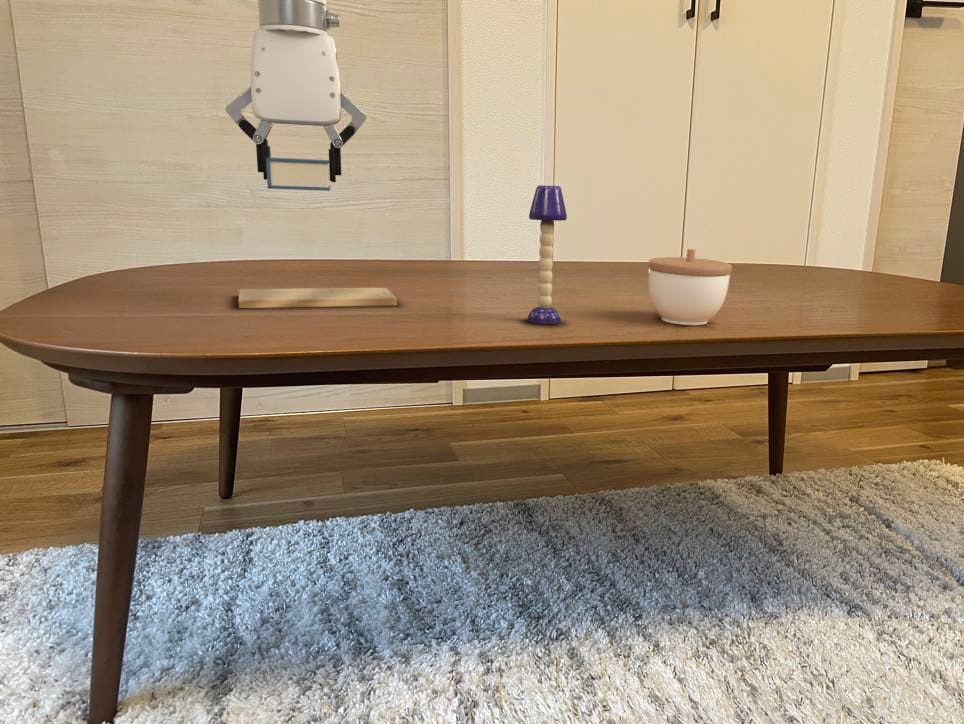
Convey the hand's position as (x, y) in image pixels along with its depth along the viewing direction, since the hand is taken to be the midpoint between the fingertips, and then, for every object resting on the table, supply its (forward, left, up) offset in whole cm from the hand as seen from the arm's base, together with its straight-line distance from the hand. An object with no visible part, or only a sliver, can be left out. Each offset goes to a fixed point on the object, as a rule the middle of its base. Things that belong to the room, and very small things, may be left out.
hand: (300, 179), depth 95 cm
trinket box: (+10, -49, -16) cm, 52 cm away
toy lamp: (+3, -31, -16) cm, 35 cm away
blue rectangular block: (0, 0, -1) cm, 1 cm away
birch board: (+6, +1, -16) cm, 17 cm away
